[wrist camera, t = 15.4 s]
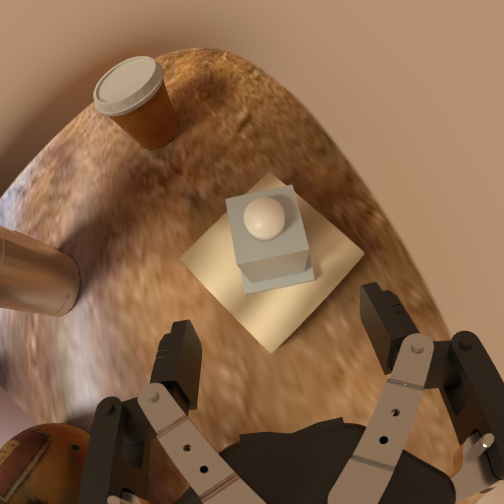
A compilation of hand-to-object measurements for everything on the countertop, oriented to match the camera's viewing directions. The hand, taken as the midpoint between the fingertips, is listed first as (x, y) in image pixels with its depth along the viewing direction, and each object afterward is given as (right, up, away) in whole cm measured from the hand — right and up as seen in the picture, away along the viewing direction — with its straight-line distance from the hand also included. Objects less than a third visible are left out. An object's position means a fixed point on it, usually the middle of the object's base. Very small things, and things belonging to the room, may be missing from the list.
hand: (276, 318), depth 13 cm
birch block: (+1, +1, +20) cm, 20 cm away
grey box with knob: (+1, +3, +15) cm, 15 cm away
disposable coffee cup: (-15, +21, +27) cm, 37 cm away
